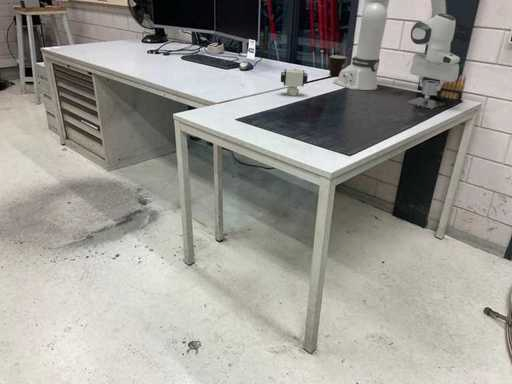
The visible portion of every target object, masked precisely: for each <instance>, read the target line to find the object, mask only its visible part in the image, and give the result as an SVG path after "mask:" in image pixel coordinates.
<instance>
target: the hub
mask: <svg viewBox="0 0 512 384" xmlns="http://www.w3.org/2000/svg"><path fill="white" fill-rule="evenodd" d="M439 84H440V81H438V80H437V81H436V80H433V79H430V80H428V79H425V80H423V86H422V87H421V89H420V90H421V91H420V92H421V93H420V94H422V95H425V94H426V95H430V96H437V93H438V90H435V89H436V86H439Z"/></svg>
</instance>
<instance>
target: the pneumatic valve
mask: <svg viewBox="0 0 512 384" xmlns="http://www.w3.org/2000/svg"><path fill="white" fill-rule="evenodd" d="M283 70H284V71H282V72H281V73H280V83H283V86H285V87H286V86H288V88H286V94H287V95H288V96H290V97H291V96H293V97H296V96H297V95H299V94H300V93H299V92H300V90H299V88H298V87H304V85H305V84H307V83H308V73H306V72H305V70H304V69H297V68H295V67H293V69H286V68H285V69H283Z"/></svg>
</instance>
